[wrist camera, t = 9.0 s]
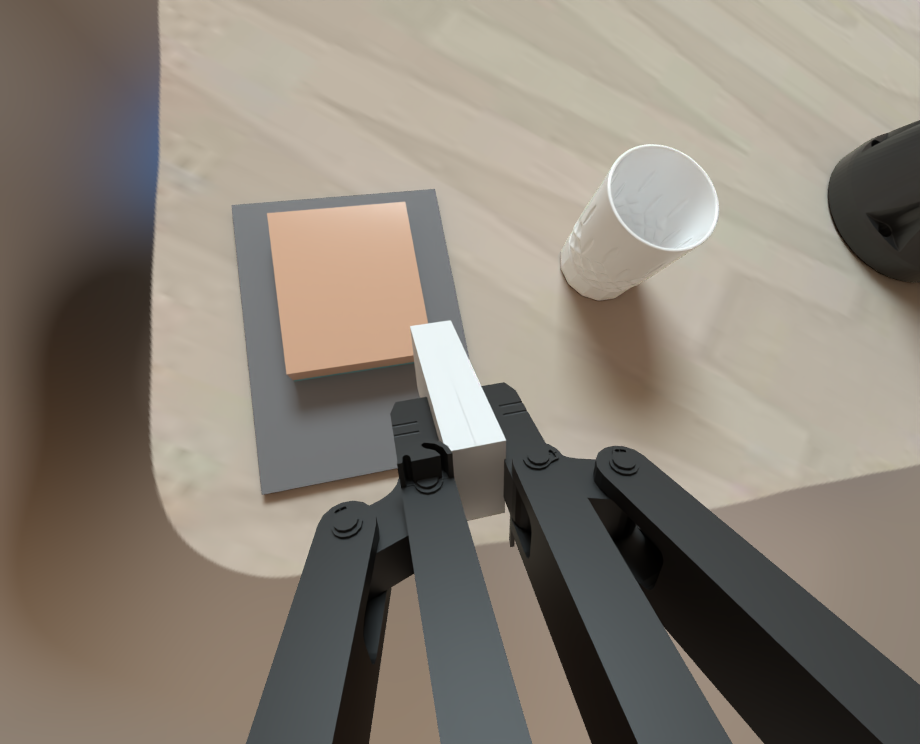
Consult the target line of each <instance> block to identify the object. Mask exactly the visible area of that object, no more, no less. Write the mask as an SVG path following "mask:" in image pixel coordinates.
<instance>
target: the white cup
mask: <svg viewBox="0 0 920 744" xmlns="http://www.w3.org/2000/svg"><path fill="white" fill-rule="evenodd" d="M718 216H719V202H718V197H717V193H716V190H715V188H714V185H713V183H712V181H711V180H710V178H709V176H708V175H707V174H706V172H705V171H704V170H703V169H702V168H701V166H700V165H699V164H698V163H696V162H695V161H694V160H693V159H692V158H690V157H689V156H687V155H686V154H684V153H682V152H680V151H678V150H676V149H673V148H671V147H667V146H663V145H655V144H649V145H641V146H637V147H634V148H632V149H630V150H628V151H626V152H625V153H623V154H622V155H621V156H620V157H619V158H618V159H617V160H616V161H615V163H614V164H613V166H612V168H611V169H610V171H609V172H608V174H607V175H606V177H605V178H604V180H603V182H602V183H601V185H600V186H599V188H598V189H597V191H596V192H595V194H594V195H593V197H592V198H591V200H590V201H589V203H588V204H587V206H586V208H585V209H584V211H583V212H582V214H581V216H580V218H579V220H578V221H577V223H576V224H575V226H574V228H573V231H572V233H571V234H570V236H569V237H568V239H567V241H566V243H565V245H564V246H563V248H562V250H561V270H562V272H563V274H564V276H565V278H566V280H567V282H568V284H569V285H570V286H571V287H573V288H574V289H575V290H576V291H577V292H578V293H580V294H581V295H582V296H585V297H588V298H592V299H595V300H598V301H599V300H606V299H614V298H616V297H618V296H619V295H620V294H622V293H623V292H625V291H626V290H628V289H630V288H631V287H634V286H636V285H639V284H640V283H642V282H643V281H645V280H647V279H649V278H650V277H652V276H653V275H655V274H657V273H658V272H660V271H661V270H663V269H664V268H666V267H667V266H669V265H670V264H672V263H673V262H675V261H677V260H678V259H680V258H681V257H683V256H684V255H686V254H687V253H689V252H690V251H692V250H693V249H695V248H697V247H698V246H700V245H701V244H703V243H704V242H705V241H706V240H707V239H708V238H709V237H710V236H711V234H712V233H713V231H714V229H715V227H716V225H717V221H718Z"/></svg>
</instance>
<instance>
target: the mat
mask: <svg viewBox="0 0 920 744" xmlns="http://www.w3.org/2000/svg"><path fill="white" fill-rule="evenodd" d="M395 202H405V203H406V208H407V214H408V219H409V224H410V230H411V235H412V240H413V246H414V251H415V256H416V262H417V267H418V272H419V278H420V283H421V288H422V294H423V299H424V305H425V310H426V315H427V321H428V323H435V322H442V321H449V320H451V322H452V324H453V326H454V329H455V331H456V333H457V335H458V337H459V339H460V341H461V344H462V346H463V348H464V350H465V352H466V354H467V357H468V359H469V355H468V350H467V345H466V340H465V335H464V330H463V325H462V321H461V316H460V311H459V306H458V301H457V296H456V291H455V286H454V281H453V276H452V271H451V266H450V261H449V256H448V251H447V246H446V242H445V237H444V232H443V227H442V222H441V217H440V212H439V207H438V202H437V197H436V192H435V189H429V190H416V191H404V192H391V193H379V194H366V195H353V196H341V197H328V198H316V199H303V200H291V201H278V202H265V203H253V204H240V205H232V214H233V224H234V233H235V243H236V252H237V262H238V272H239V281H240V291H241V300H242V310H243V319H244V329H245V338H246V348H247V358H248V367H249V377H250V386H251V396H252V405H253V415H254V425H255V434H256V444H257V453H258V463H259V472H260V482H261V491H262V495H263V494H268V493H273V492H278V491H284V490H289V489H294V488H299V487H304V486H309V485H314V484H319V483H324V482H329V481H334V480H339V479H344V478H350V477H355V476H360V475H365V474H370V473H375V472H380V471H385V470H390V469H395V468H398V467H397V455H396V449H395V442H394V435H393V429H392V422H391V416H390V413H391V411H392V408H393V406H394V404H395V402H399V401H405V400H411V399H416V398H420V396H419V392H418V388H417V380H416V372H415V364H414V363H413V364H406V365H400V366H393V367H386V368H380V369H373V370H367V371H360V372H354V373H347V374H341V375H334V376H328V377H321V378H315V379H308V380H302V381H295V382H294V381H293V380H292V379H291V378H290V377H289V376H288V375H287V374H286V366H285V358H284V350H283V341H282V333H281V325H280V317H279V308H278V300H277V292H276V283H275V275H274V267H273V259H272V250H271V242H270V234H269V226H268V217H267V213H276V212H287V211H299V210H311V209H323V208H335V207H347V206H359V205H371V204H383V203H395ZM469 361H470V360H469Z"/></svg>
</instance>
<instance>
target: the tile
mask: <svg viewBox="0 0 920 744" xmlns="http://www.w3.org/2000/svg"><path fill="white" fill-rule="evenodd" d="M267 217H268V226H269V234H270V242H271V250H272V259H273V267H274V275H275V283H276V292H277V300H278V308H279V317H280V325H281V333H282V341H283V350H284V358H285V366H286V374H287V375H288V376H289V377H290V378H291V379H292V380H293V381H294V382H295V381H302V380H308V379H315V378H321V377H328V376H334V375H341V374H347V373H354V372H360V371H367V370H373V369H380V368H386V367H393V366H400V365H406V364H413V363H414V355H413V347H412V339H411V331H410V326H414V325H421V324H428V321H427V315H426V310H425V305H424V299H423V294H422V288H421V283H420V278H419V272H418V267H417V262H416V256H415V251H414V246H413V240H412V235H411V230H410V224H409V219H408V214H407V208H406V203H405V202H395V203H383V204H371V205H359V206H347V207H335V208H323V209H311V210H299V211H287V212H276V213H267Z"/></svg>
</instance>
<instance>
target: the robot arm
mask: <svg viewBox="0 0 920 744" xmlns="http://www.w3.org/2000/svg"><path fill="white" fill-rule="evenodd" d="M828 193H829V204H830V209H831V213H832V216H833V219H834V221H835V224H836V226H837V228H838V230H839V232H840V234H841V235H842V237H843V238H844V240H845V241H846V243H847V244H848V245H849V247H850V248H851V249H852V250H853V251H854V252H855V253H856V254H857V255H858V256H859V257H860V258H861V259H862V260H863V261H864V262H865V263H867V264H868V265H869V266H871V267H872V268H873V269H875V270H877V271H878V272H880V273H882V274H884V275H886V276H888V277H891V278H894V279H897V280H900V281H905V282H920V120H919V121H917V122H914V123H911V124H909V125H906V126H903V127H901V128H899V129H896V130H894V131H891V132H889V133H886V134H883V135H880V136H877V137H875V138H873V139H871V140H869V141H867V142H865V143H864V144H862V145H861V146H859V147H858V148H857V149H855V150H854V151H852V152H851V153H849V154H848V155H846V156H845V157H844V158H843V159H841V160H840V161H839V163H838V164H837V165H836V167H835V168H834V170H833V172H832V175H831V178H830V182H829V191H828ZM410 331H411V339H412V347H413V355H414V364H415V372H416V380H417V388H418V392H419V396H420V398H416V399H411V400H405V401H399V402H395V404H394V406H393V408H392V411H391V413H390V416H391V422H392V429H393V435H394V442H395V449H396V455H397V467H398V473H399V479H398V482H397V485H396V486H395V488H394V489H393V491H392V492H391V493H390V494H388V495H387V496H386V497H384V498H383V499H381V500H380V501H378V502H376V503H374V504H372V505H370V506H369V505H367V504H365V503H364V502H358V501H349V502H343V503H340V504H338V505H336V506H334V507H332V508H331V509H330V510H329V511H328V512H326V513H325V514H324V515H323V517H322V518H321V520H320V522H319V524H318V526H317V529H316V532H315V535H314V538H313V541H312V544H311V547H310V550H309V554H308V557H307V560H306V563H305V566H304V569H303V572H302V575H301V578H300V581H299V584H298V587H297V590H296V593H295V596H294V599H293V602H292V605H291V608H290V611H289V614H288V618H287V620H286V624H285V627H284V630H283V633H282V636H281V639H280V642H279V645H278V648H277V651H276V654H275V657H274V660H273V663H272V666H271V669H270V672H269V676H268V678H267V682H266V684H265V688H264V691H263V694H262V697H261V700H260V703H259V706H258V709H257V712H256V715H255V718H254V721H253V724H252V727H251V730H250V733H249V736H248V739H247V742H246V744H369V739H370V732H371V725H372V718H373V711H374V704H375V698H376V691H377V684H378V677H379V670H380V663H381V656H382V650H383V643H384V635H385V629H386V622H387V615H388V607H389V601H390V595H391V587H392V586H394V585H396V584H397V583H399V582H401V581H402V580H404V579H406V578H407V577H409V576H411V575H412V574H415V581H416V587H417V594H418V600H419V607H420V613H421V620H422V626H423V633H424V639H425V645H426V652H427V658H428V664H429V671H430V678H431V684H432V691H433V697H434V704H435V710H436V717H437V723H438V729H439V736H440V742H441V744H532V741H531V738H530V735H529V731H528V728H527V724H526V721H525V718H524V714H523V711H522V708H521V704H520V700H519V697H518V694H517V690H516V687H515V684H514V680H513V677H512V673H511V670H510V666H509V663H508V659H507V656H506V653H505V649H504V646H503V642H502V639H501V636H500V632H499V629H498V625H497V622H496V618H495V615H494V612H493V608H492V605H491V601H490V598H489V595H488V591H487V588H486V584H485V581H484V578H483V574H482V571H481V567H480V564H479V560H478V557H477V553H476V550H475V547H474V543H473V540H472V536H471V533H470V530H469V526H468V523H467V521H469V520H474V519H478V518H483V517H487V516H492V515H496V514H501V513H505V502H506V505H507V507H508V510H509V512H510V534H509V541H510V547H513V546H514V540H515V542H516V544H517V547H518V550H519V552H520V555H521V558H522V560H523V563H524V566H525V568H526V571H527V573H528V576H529V579H530V581H531V584H532V587H533V589H534V591H535V595H536V597H537V600H538V603H539V605H540V608H541V611H542V613H543V616H544V618H545V621H546V624H547V626H548V629H549V632H550V634H551V637H552V640H553V642H554V645H555V647H556V650H557V653H558V656H559V658H560V661H561V663H562V666H563V669H564V671H565V674H566V677H567V679H568V682H569V685H570V687H571V690H572V693H573V695H574V698H575V701H576V703H577V706H578V709H579V711H580V714H581V716H582V719H583V722H584V724H585V727H586V730H587V732H588V735H589V738H590V740H591V743H592V744H732V742H731V740H730V739H729V737H728V735H727V734H726V732H725V730H724V728H723V727H722V725H721V724H720V722H719V720H718V718H717V717H716V715H715V713H714V712H713V710H712V708H711V707H710V705H709V703H708V701H707V700H706V698H705V696H704V695H703V693H702V691H701V689H700V688H699V686H698V684H697V683H696V681H695V679H694V678H693V676H692V674H691V673H690V671H689V669H688V667H687V666H686V664H685V662H684V661H683V659H682V657H681V656H680V654H679V652H678V651H677V649H676V647H675V645H674V644H673V642H672V640H671V639H670V637H669V635H668V634H667V632H666V630H667V631H668V632H669V633H670V634H671V636H672V637H673V638H674V639H675V640H676V641H677V643H678V644H679V645H680V646H681V647H682V648H683V649H684V651H685V652H686V653H687V654H688V655H689V657H690V658H691V659H692V660H693V661H694V662H695V664H696V665H697V666H698V667H699V668H700V669H701V671H702V672H703V673H704V674H705V675H706V676H707V678H708V679H709V680H710V681H711V682H712V683H713V684H714V686H715V687H716V688H717V689H718V690H719V691H720V693H721V694H722V695H723V696H724V697H725V698H726V700H727V701H728V702H729V703H730V704H731V705H732V707H734V709H735V710H736V711H737V712H738V714H739V715H740V716H741V717H742V718H743V719H744V721H745V722H746V723H747V724H748V725H749V726H750V727H751V729H752V730H753V731H754V732H755V733H756V735H757V736H758V737H759V738H760V739H761V740H762V742H763V743H764V744H920V685H919V684H918V683H917V682H916V681H914V680H913V679H912V678H911V677H910V676H908V675H907V674H906V673H905V672H904V671H902V670H901V669H900V668H899V667H898V666H896V665H895V664H894V663H893V662H892V661H890V660H889V659H888V658H887V657H885V656H884V655H883V654H882V653H881V652H879V651H878V650H877V649H876V648H875V647H874V646H872V645H871V644H870V643H869V642H867V641H866V640H865V639H864V638H862V637H861V636H860V635H859V634H858V633H857V632H855V631H854V630H853V629H852V628H850V627H849V626H848V625H847V624H846V623H845V622H843V621H842V620H841V619H840V618H838V617H837V616H836V615H835V614H834V613H833V612H831V611H830V610H829V609H828V608H827V607H825V606H824V605H823V604H822V603H821V602H819V601H818V600H817V599H816V598H814V597H813V596H812V595H811V594H810V593H808V592H807V591H806V590H805V589H804V588H802V587H801V586H800V585H799V584H798V583H796V582H795V581H794V580H793V579H792V578H790V577H789V576H788V575H787V574H786V573H784V572H783V571H782V570H781V569H779V568H778V567H777V566H776V565H775V564H773V563H772V562H771V561H770V560H768V559H767V558H766V557H765V556H764V555H763V554H762V553H760V552H759V551H758V550H757V549H755V548H754V547H753V546H752V545H751V544H749V543H748V542H747V541H746V540H745V539H743V538H742V537H741V536H740V535H739V534H737V533H736V532H735V531H734V530H733V529H731V528H730V527H729V526H728V525H727V524H725V523H724V522H723V521H722V520H720V519H719V518H718V517H717V516H716V515H715V514H713V513H712V512H711V511H710V510H709V509H707V508H706V507H705V506H704V505H702V504H701V503H700V502H699V501H698V500H696V499H695V498H694V497H693V496H692V495H690V494H689V493H688V492H687V491H686V490H684V489H683V488H682V487H681V486H680V485H678V484H677V483H676V482H675V481H674V480H672V479H671V478H670V477H669V476H668V475H666V474H665V473H664V472H663V471H662V470H660V469H659V468H658V467H657V466H656V465H654V464H653V463H652V462H651V461H650V460H648V459H647V458H646V457H645V456H643V455H642V454H640V453H639V452H637V451H636V450H634V449H630V448H627V447H624V446H611V447H607V448H604V449H603V450H602V451H600V452H599V453H598V455H597V458H596V460H593V459H576V458H569V457H566V456H563V455H562V454H561V453H560V452H559V451H558V450H557V449H556V448H554V447H553V446H551V445H549V444H546V443H545V441H544V440H543V438H542V436H541V434H540V433H539V431H538V429H537V427H536V425H535V424H534V422H533V420H532V418H531V417H530V415H529V413H528V412H527V410H526V408H525V406H524V404H523V403H522V401H521V399H520V397H519V396H518V394H517V392H516V390H514V389H513V388H511V387H510V386H509V385H507V384H506V383H498V384H492V385H486V386H481V385H480V383H479V380H478V378H477V376H476V374H475V372H474V370H473V367H472V365H471V363H470V361H469V359H468V357H467V354H466V352H465V350H464V348H463V346H462V344H461V341H460V339H459V337H458V335H457V333H456V331H455V329H454V326H453V324H452V322H451V320H449V321H442V322H435V323H428V324H421V325H414V326H410ZM663 626H664V627H663ZM665 629H666V630H665Z"/></svg>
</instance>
